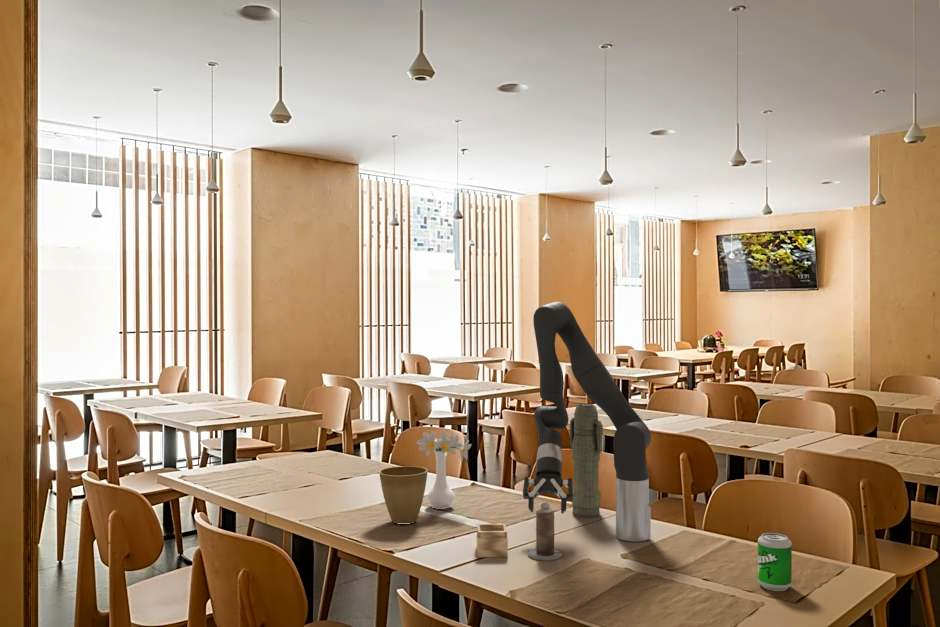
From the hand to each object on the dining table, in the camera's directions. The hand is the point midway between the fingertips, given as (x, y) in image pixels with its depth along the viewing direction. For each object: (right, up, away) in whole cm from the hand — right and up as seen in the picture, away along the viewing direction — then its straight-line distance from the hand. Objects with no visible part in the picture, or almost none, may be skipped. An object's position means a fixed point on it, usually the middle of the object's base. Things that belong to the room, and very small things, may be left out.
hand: (547, 511), depth 221 cm
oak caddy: (-16, -9, -7) cm, 20 cm away
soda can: (+51, -10, -34) cm, 62 cm away
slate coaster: (-2, -9, -10) cm, 14 cm away
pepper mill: (-2, -9, -10) cm, 13 cm away
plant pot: (-42, -9, +22) cm, 49 cm away
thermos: (+16, -9, +31) cm, 36 cm away
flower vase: (-31, -9, +40) cm, 51 cm away
